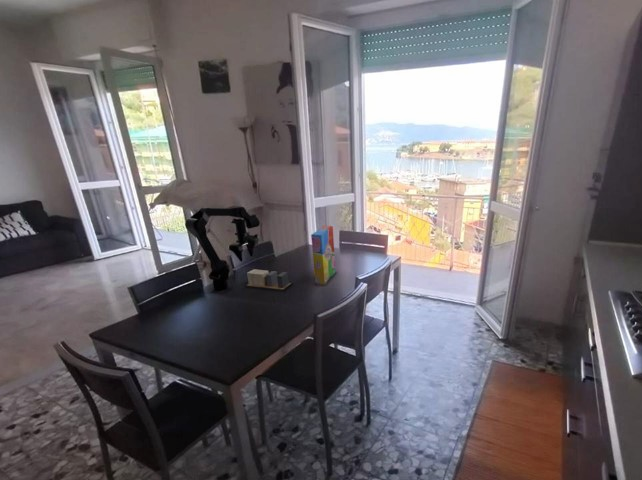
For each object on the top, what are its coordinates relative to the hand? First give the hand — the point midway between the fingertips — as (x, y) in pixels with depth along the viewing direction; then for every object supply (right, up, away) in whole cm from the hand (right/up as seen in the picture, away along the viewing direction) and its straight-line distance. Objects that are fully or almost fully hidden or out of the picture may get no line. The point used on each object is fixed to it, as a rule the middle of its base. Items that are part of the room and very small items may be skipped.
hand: (246, 258), depth 194 cm
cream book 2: (+8, -13, -3) cm, 16 cm away
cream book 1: (+5, -13, -3) cm, 14 cm away
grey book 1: (+16, -14, -6) cm, 22 cm away
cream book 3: (+11, -14, -4) cm, 18 cm away
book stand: (+14, -15, -5) cm, 21 cm away
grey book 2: (+22, -15, -8) cm, 28 cm away
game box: (+43, -11, +4) cm, 44 cm away
